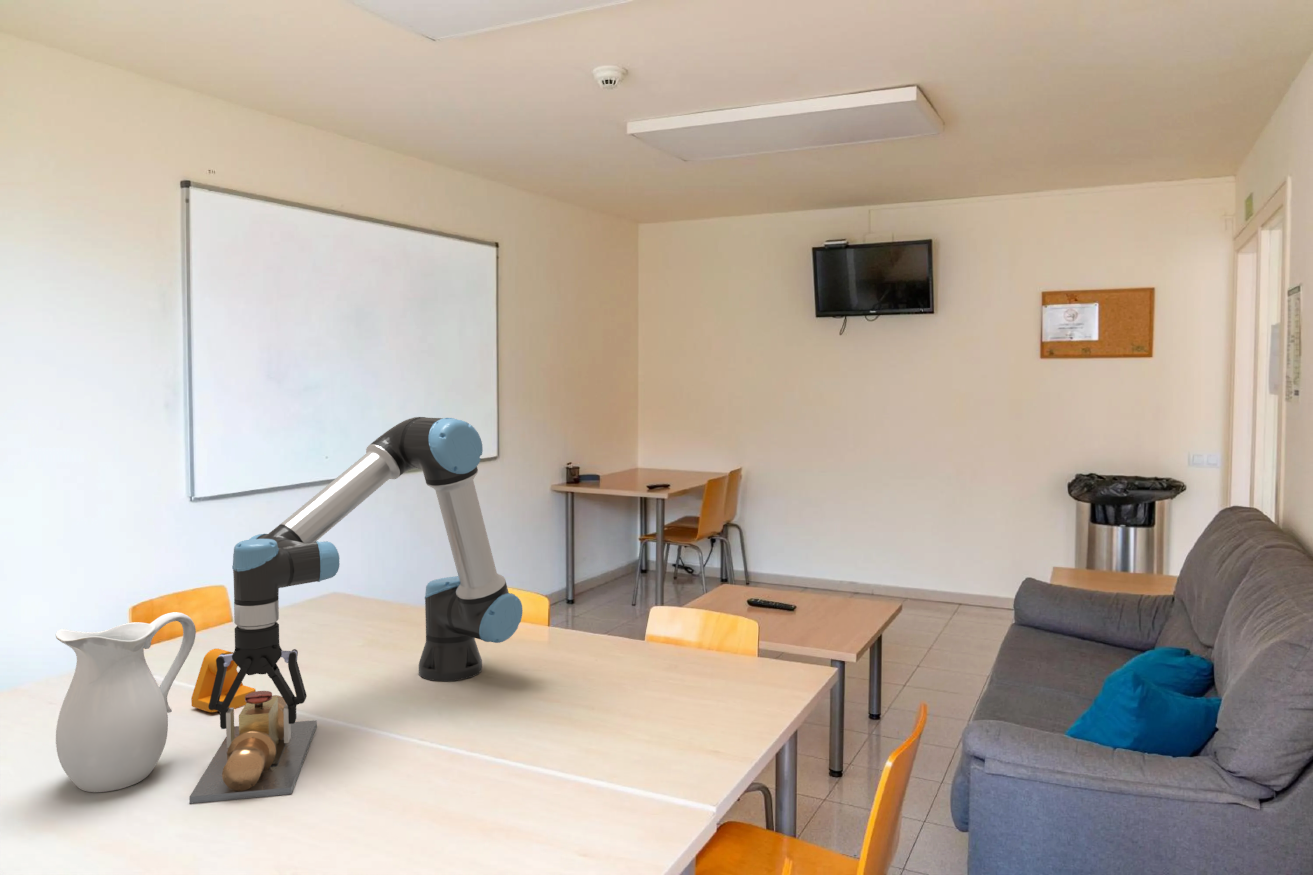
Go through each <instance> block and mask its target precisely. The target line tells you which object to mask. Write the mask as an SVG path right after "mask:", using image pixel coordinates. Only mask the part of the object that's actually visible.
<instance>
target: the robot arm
mask: <svg viewBox="0 0 1313 875" xmlns="http://www.w3.org/2000/svg"><path fill="white" fill-rule="evenodd" d="M365 450H366V453H365V454H363V456H361V457H360V458H359V459H358V460H356V461H355V462H354V463H353V464H351V465H350V466H349V467H348V468H346V470H344V471H343V472H342V473H341V474H340V475H338V476H337V477H336V478H335V479H333V480H332V481H330V483H328V485H326V486H325V487H324V488H322V489H320V491H319V492H318V493H316V494H315V495H314V496H312V497H311V498H310V499H309V500H308V501H307V502H305V503H304V504H303V505H301V507H299V508H297V510H296V511H295V512H293V513H291V515H290V516H289V517H287V518H286V519H285V520H283V521H282V522H281V523H279V525H278V526H276V527H275V528H274V529H272V530H271V531H270V532H269V533H259V534H256V535H253V536H251V538H249V539H245V540H242V541H239V542H237V543H236V544H235V545H234V547H233V553H232V554H233V555H232V565H231V566H232V571H233V572H232V573H233V574H232V575H233V598H234V599H233V600H234V601H233V612H234V613H233V619H234V620H233V621H234V623H233V624H235V625H236V626H235V627H234V651H233V654H227V655H225V654H224V653H222V654H220V655H219V656H218V658H217V659H216V665H217V673H216V677H215V682H214V686H213V690H212V694H211V698H210V702H209V709H210V710H217V711H216V712H218V713H219V724H220V725H219V726H220V729H221V730H225V732H226V736H225V738H226V737H227V748H229V746H230V744H231V743H232V741H233V740H234V726H235V709H234V708H229V706H230V703H231V702H232V700H233V698H234V696H235V694H236V692H237V690H238V688H239V686H240V685H241V683H243V681H244V679H245V677H246V675H247V676H255V675H267V676H268V678H270V679H271V681H272V682H273V684H274V685H275V688H276V689H277V691H278V692H279V694H280V696H281V697H283V699H284V701H285V702H286V705H285V707H284V743H289V740H290V738H291V724H294V723H295V722H297V721H296V720H297V706H298V705H302V704H304V703H305V702H306V699H307V697H308V696H307V692H306V689H305V686H304V681H303V677H302V674H301V671H300V667H299V664H298V655H299V652H298V650H297V649H296V648H294V649H292V650H283V649H282V647H281V645H280V624H279V623H278V621H279V619H280V607H279V599H280V598H279V590H280V589H282V588H287V587H294V586H297V585H299V586H300V585H304V584H309V583H311V584H312V583H315V582H317V583H320V582H321V581H326V580H329V579H332V578H334V577H335V576H336V575H337V573H338V572H339V570H340V554H339V551H338V549H337V547H336V545H335V544H334V543H332V542H331V541H329V540H328V541H327V540H326V541H324V540H323V541H318V540H320V539H321V538H322V537H323V536H324V535H326V534H327V532H329V531H330V530H331V529H333V528H334V527H335V526H336V525H337V524H339V522H341V521H342V520H343V519H344V518H345V517H346V516H348V515H349V514H350V513H351V512H353V511H354V510H355V509H356V508H357V507H359V506H360V505H361V504H362V503H363V502H364V501H365V500H366V499H368V498H369V497H370V496H371V495H372V494H373V493H375V492H376V491H377V490H378V489H379V488H381V487H382V486H383V485H384V484H385V483H386V482H388V481H389V480H397V479H398V478H400V476H401V475H403V474H405V473H406V472H408V471H411V470H414V469H418V470H419V469H421V470H422V473H423V476H424V481H425V484H426V485H427V486H429V487H430V488H431V489H434V490H435V495H436V497H437V501H438V506H439V508H440V512H441V515H442V519H443V524H444V528H445V532H446V536H447V539H448V543H449V547H450V550H451V554H452V557H453V561H454V562H453V563H454V565H455V569H456V574H457V575H456V576H448V577H442V578H441V577H440V578H437V579H434V580H431V581H429V582H427V584H426V585H425V594H424V595H425V596H424V600H425V601H424V602H425V604H424V605H425V606H424V608H425V612H424V613H425V643H424V647H423V650H422V653H421V656H420V659H419V662H418V675H419V676H420V677H421V678H423V679H426V680H429V681H435V682H436V681H438V682H451V681H452V682H453V681H458V680H459V681H460V680H465V679H469V678H472V677H474V676H475V677H476V676H477V675H479V674H480V673H481V672H482V670H483V660H482V657H481V654H480V651H479V647H478V645H477V642H476V639H478V640H481V641H483V642H486V643H493V644H494V643H495V644H499V643H500V644H501V643H503V642H505V641H507V640H509V639H510V638H511V637H512V636H513V635H514V634H515V633H516V632H517V630H518V629H519V625H520V623H521V622H522V617H523V604H522V601H521V599H520V598H519V597H518V596H517V595H515V594H514V593H511V592H510V593H509V589H508V585H507V582H506V578H505V577H504V576H503V575H501V574H499V573H498V572H497V568H496V565H495V560H494V556H493V552H492V548H491V544H490V541H489V540H490V539H489V537H488V533H487V528H486V525H485V521H484V517H483V513H482V509H481V504H480V502H479V497H478V493H477V489H476V485H475V481H474V479H475V477H477V474H478V473H479V470H478V466H479V464H480V462H481V460H482V459H481V456H482V455H483V451H484V450H483V441H482V439H481V436H480V433H479V432H478V430H477V429H476V428H475V427H474V425H471V424H470V423H468V422H467V421H465V420H463V419H457V418H454V417H442V418H441V417H425V416H415V417H411V418H408V419H405V420H403V421H401V422H399V423H398V424H396V425H394V426H392V427H391V428H389V429H388V430H387V431H385V432H384V433H383V434H381V435H380V436H379V437H377V438H376V439H374V441H372V442H371V443H370V444H369V445H367V446H366V448H365ZM281 658H282V659H283V660H284V662H285V663H286V664H287V667H288V671H289V675H290V678H291V682H292V685H293V689H294V693H295V694H294V693H293V690H292V689H291V688H290V686H289V684H288V682H287V681H286V680H285V678H284V676H283V674H282V672H281V670H280V668H279V666H278V665H277V663H278V662H279V661H280V659H281ZM232 660H233V661H234V662H235V663H236V664H237V665H238V667H237V668H239V670H238V671H237V672H238V674H237V676H236V678H235V680H234V682H233V684H232V686H231V688H230V690H229V692H228V693H227V695H226V697H225V699H224V701H223V702H221V701H219V700H220V696H221V691H222V687H223V683H224V679H225V675H226V671H227V667H228V666H229V665H230V663H231V661H232ZM295 695H296V696H295Z"/></svg>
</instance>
